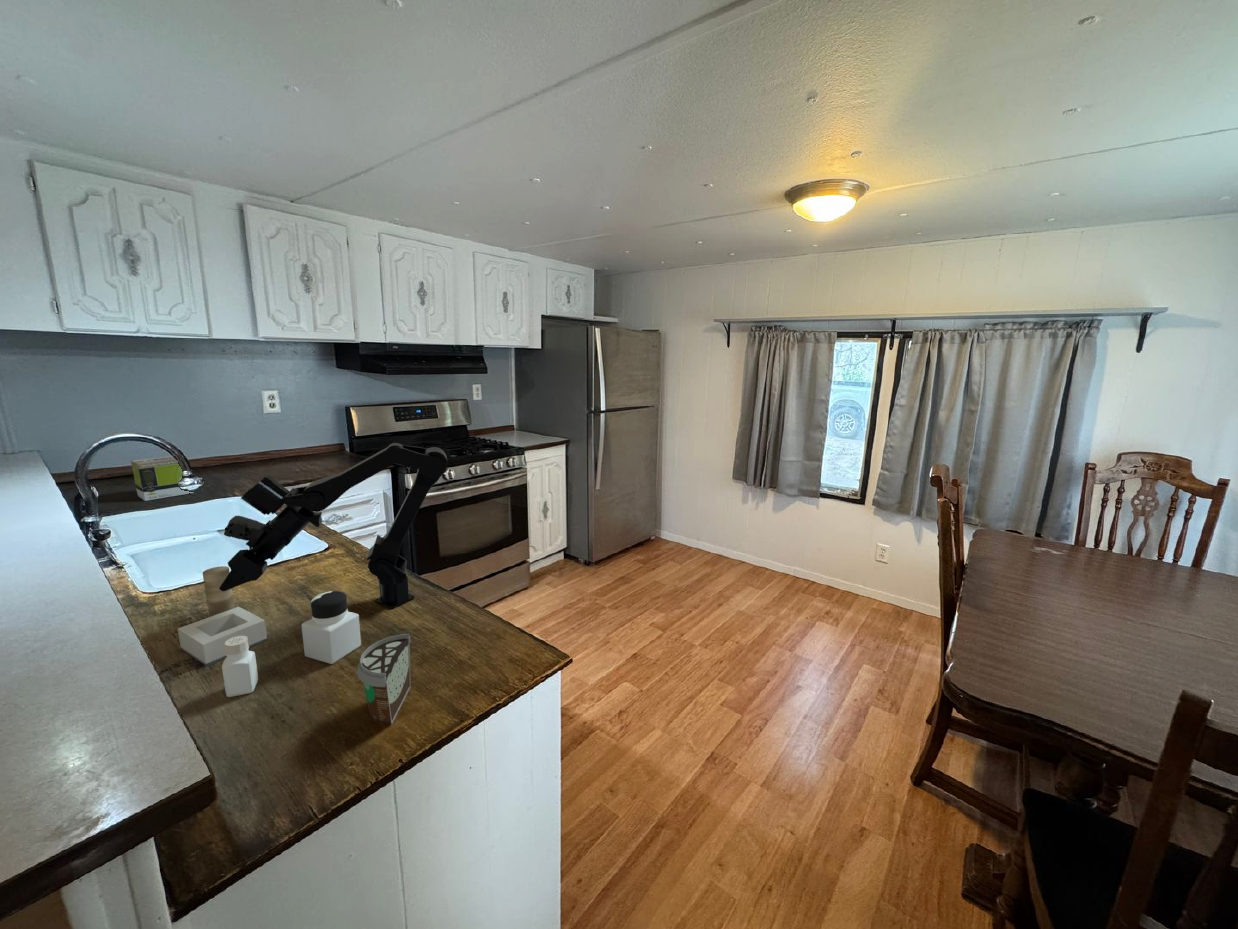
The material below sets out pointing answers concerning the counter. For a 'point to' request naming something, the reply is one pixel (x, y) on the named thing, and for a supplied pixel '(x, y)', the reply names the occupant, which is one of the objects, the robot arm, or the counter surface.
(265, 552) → the robot arm
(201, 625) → the socket block
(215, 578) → the oak plug peg
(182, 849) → the counter surface
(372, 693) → the food container
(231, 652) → the pepper shaker
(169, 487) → the tea box
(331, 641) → the medicine bottle
